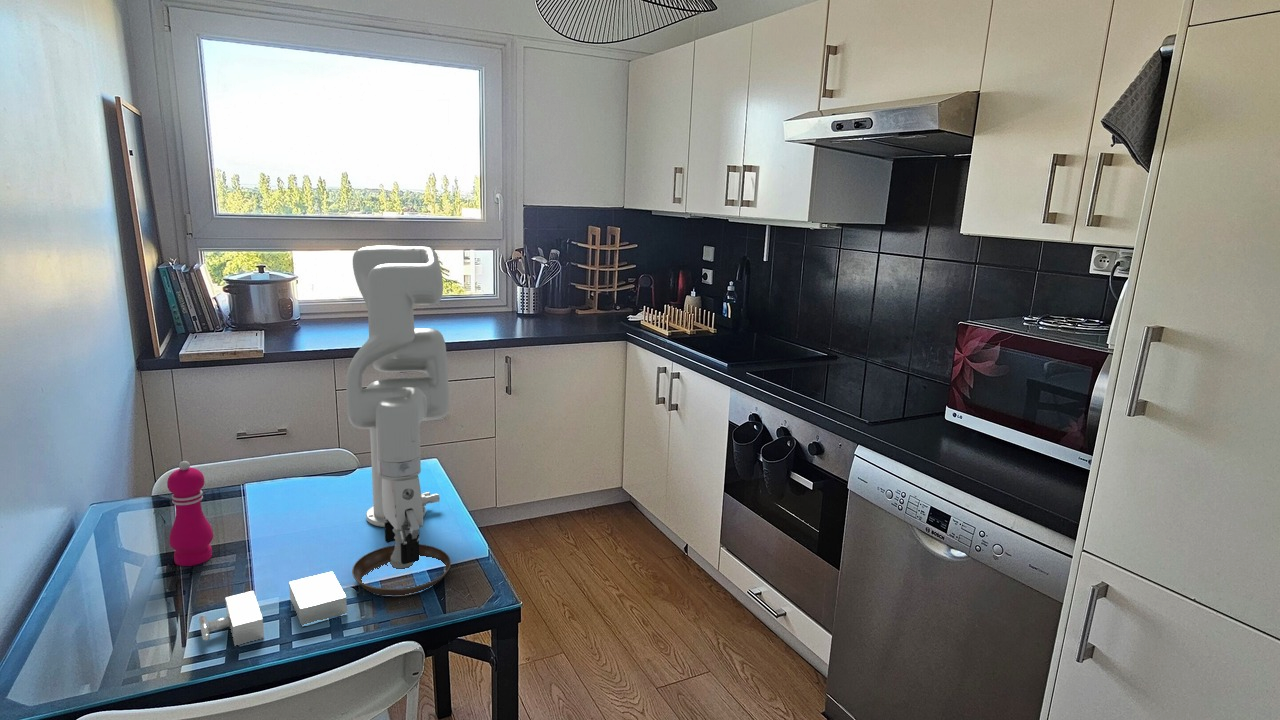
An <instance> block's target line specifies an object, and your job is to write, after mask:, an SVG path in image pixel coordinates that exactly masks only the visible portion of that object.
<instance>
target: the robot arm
mask: <svg viewBox="0 0 1280 720" xmlns="http://www.w3.org/2000/svg"><path fill="white" fill-rule="evenodd" d="M440 265H441V264H440V260H439V257H438V254H437V252H436V251H435V249H433V248H432V247H429V246H409V245H408V246H407V245H406V246H405V245H404V246H403V245H371V246H363V247H360V248H358V249H357V250H356V251H354V253H353V256H352V269H353V274H354V277H355V281H356V284H357V287H358V289H359V292H360V295H361V296H362V298H363V300H364V303H365V307H366V308H367V317H368V318H367V319H368V321H367V323H368V338H367V341H365V343H364V344H362V346H361V347H360V348H359V349H358V350H357V352H356V353H354V356H353V357H352V360H351V361H350V364H349V366H348V368H347V373H346V384H345V385H346V413H347V417H348V418H347V419H348V421H349V423H350V424H351V425H352V427H354V428H356V429H360V430H369V437H370V438H369V439H370V454H371V455H370V456H371V458H370V459H371V460H370V461H371V480H372V481H371V483H372V504H373V505H372V506H371V507H370V508H369V509H368V510H366V513H365V516H366V520H367V522H368V523H369V524H370V525H373V526H376V527H382V528H384V541H385V542H386V543H387V544H389V543H392V542H395V539H394V537H395V533H394V532H393V529H394V528H395V529H396V530H398V531H400V534H401V538H402V543H400V544H401V563H402V564H407V563H411V562H415V561H418V560H419V544H420V528H421V527H423V525H424V517H425V515H426V506H427V505H428V504H435V503H438V502H441V501H440V500H441V499H440V498H441V497H440V494H439V493H433V494H431V493H430V491H428V492H422V491H421V488H422V487H421V484H420V477H419V475H420V474H421V472H422V467H421V465H422V464H421V431H420V428H421V424H422V422H423V421H435V420H441V419H442V418H445V417H446V416H447V415H448V414H449V413H448V412H449V409H450V389H449V388H450V387H449V375H448V374H449V373H448V370H449V369H448V357H447V345H446V342H445V338H444V336H443V333H441V331H440V330H438V329H435V328H429V327H428V328H427V327H425V328H424V327H423V328H421V327H418V328H417V327H415V321H414V320H415V318H414V306H420V305H421V306H423V305H424V306H425V305H426V306H427V305H428V306H429V305H430V306H432V305H433V306H434V305H438V304H439V303H440V301H441V300H442V298H443V291H444V279H443V274H442V269H441V266H440ZM371 365H372V367H373V368H374V370H376V371H379V372H381V373H406V372H408V373H409V372H411V373H412V372H423V373H424V374H425V375H426V376H423V377H422V376H420V377H419V376H418V377H394V378H393V377H392V378H391V377H390V378H382V379H378V380H375V381H372V382H370V384H368V385H367V386H366V388H363V386H362V385H363V384H362V383H363V375H364V373H365V371H366V370H367V369H368V368H369V366H371ZM404 524H408V525H409V526H405V527H403V526H402V525H404ZM408 530H410V531H409V533H408V535H407V537H406V535H405V531H408Z"/></svg>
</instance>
